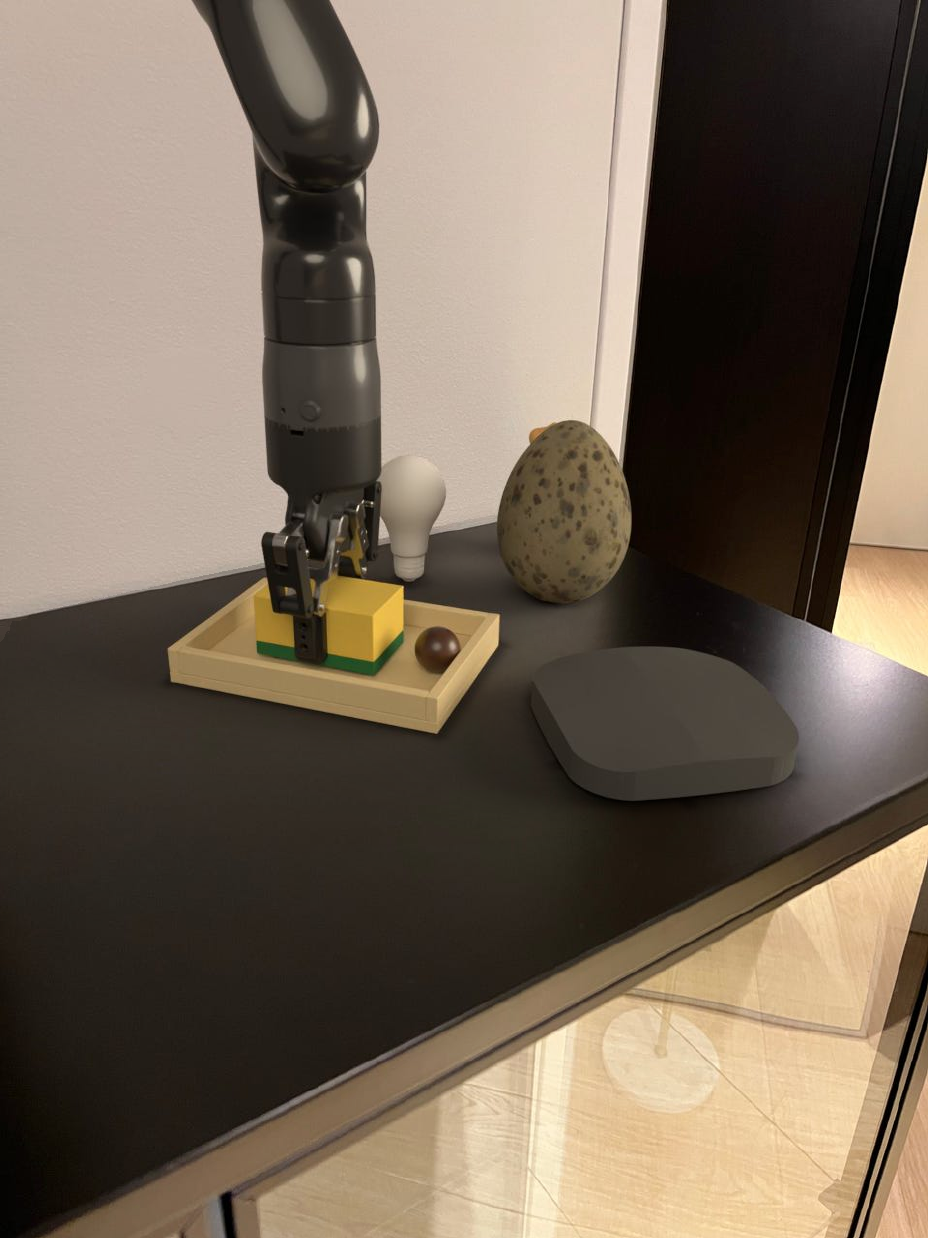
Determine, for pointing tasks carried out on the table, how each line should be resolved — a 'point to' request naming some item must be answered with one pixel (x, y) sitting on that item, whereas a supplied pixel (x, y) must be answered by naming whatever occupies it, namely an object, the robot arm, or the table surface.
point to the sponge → (341, 625)
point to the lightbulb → (410, 510)
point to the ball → (436, 648)
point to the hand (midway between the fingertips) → (330, 641)
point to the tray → (390, 696)
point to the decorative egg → (565, 515)
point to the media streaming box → (661, 723)
